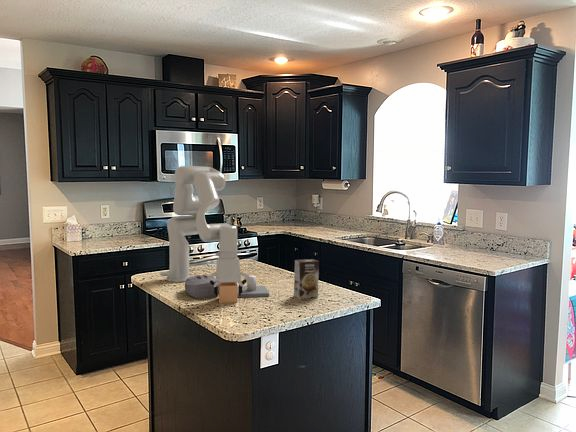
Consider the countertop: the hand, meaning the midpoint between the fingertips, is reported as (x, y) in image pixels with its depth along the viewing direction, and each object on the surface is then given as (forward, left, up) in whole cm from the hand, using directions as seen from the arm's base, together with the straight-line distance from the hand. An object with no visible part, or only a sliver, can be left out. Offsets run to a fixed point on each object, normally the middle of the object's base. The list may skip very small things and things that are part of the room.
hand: (228, 295), depth 200 cm
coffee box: (+34, +2, -2) cm, 34 cm away
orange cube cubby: (0, 0, -2) cm, 2 cm away
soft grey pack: (-11, +14, -3) cm, 18 cm away
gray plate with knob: (+11, +11, -2) cm, 16 cm away
